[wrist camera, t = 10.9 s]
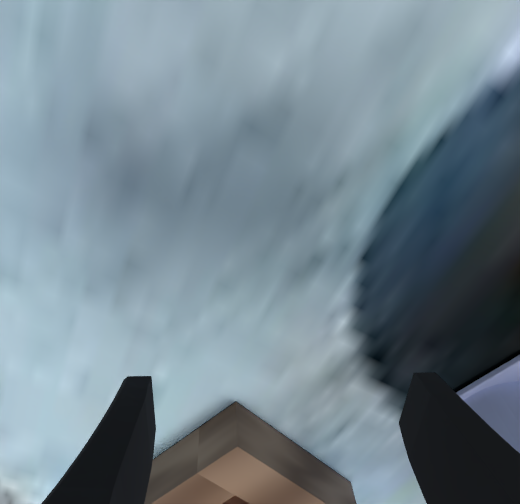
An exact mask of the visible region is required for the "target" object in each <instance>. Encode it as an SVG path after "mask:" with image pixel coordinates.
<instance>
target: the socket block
mask: <svg viewBox="0 0 520 504" xmlns="http://www.w3.org/2000/svg"><path fill="white" fill-rule="evenodd" d="M233 496H237V497H239V498H241V499H242V500H244V501H246V502H247V503H249V504H356V500H355V497H354V493H353V489H352V485H351V482H349V481H348V480H346V479H345V478H344V477H342V476H341V475H339V474H338V473H336V472H335V471H334V470H332V469H331V468H329V467H328V466H327V465H325V464H324V463H322V462H321V461H319V460H318V459H317V458H315V457H314V456H312V455H311V454H309V453H308V452H307V451H305V450H304V449H302V448H301V447H300V446H298V445H297V444H295V443H294V442H292V441H291V440H290V439H288V438H287V437H285V436H284V435H283V434H281V433H280V432H278V431H277V430H275V429H274V428H273V427H271V426H270V425H268V424H267V423H265V422H264V421H263V420H261V419H260V418H258V417H257V416H256V415H254V414H253V413H251V412H250V411H248V410H247V409H246V408H244V407H243V406H241V405H240V404H239V403H237V402H235V403H233V404H232V405H230V406H229V407H228V408H226V409H225V410H223V411H222V412H220V413H219V414H218V415H216V416H215V417H213V418H212V419H210V420H209V421H208V422H206V423H205V424H203V425H202V426H200V427H199V428H198V429H196V430H195V431H193V432H192V433H190V434H189V435H188V436H186V437H185V438H183V439H182V440H180V441H179V442H178V443H176V444H175V445H173V446H172V447H170V448H169V449H168V450H166V451H165V452H163V453H162V454H160V455H159V456H158V457H156V458H155V459H153V460H152V468H151V473H150V478H149V483H148V488H147V493H146V497H145V502H144V504H222V503H224V502H225V501H227V500H229V499H230V498H232V497H233Z"/></svg>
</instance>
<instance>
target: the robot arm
mask: <svg viewBox="0 0 520 504" xmlns="http://www.w3.org/2000/svg"><path fill="white" fill-rule="evenodd" d="M399 425H400V429H401V433H402V437H403V441H404V444H405V448H406V451H407V455H408V458H409V461H410V464H411V466H412V469H413V471H414V474H415V476H416V478H417V481H418V483H419V486H420V488H421V491H422V493H423V496H424V498H425V500H426V503H427V504H520V355H518V356H517V357H515V358H513V359H512V360H510V361H508V362H506V363H505V364H503V365H501V366H500V367H498V368H496V369H495V370H493V371H491V372H490V373H488V374H486V375H485V376H483V377H481V378H480V379H478V380H476V381H475V382H473V383H471V384H470V385H468V386H466V387H465V388H463V389H461V390H459V391H458V392H455V391H453V390H452V389H451V388H450V387H449V386H448V385H447V384H446V383H445V382H444V381H443V380H442V379H441V378H440V377H439V376H438V375H437V374H436V373H414V374H413V378H412V381H411V384H410V388H409V391H408V394H407V398H406V401H405V404H404V408H403V411H402V414H401V417H400V421H399ZM155 431H156V425H155V414H154V402H153V390H152V379H151V376H130V377H127V378H125V379H124V381H123V383H122V385H121V387H120V389H119V391H118V392H117V394H116V396H115V398H114V400H113V402H112V403H111V405H110V407H109V408H108V410H107V412H106V414H105V415H104V417H103V419H102V420H101V422H100V423H99V425H98V426H97V428H96V430H95V431H94V433H93V434H92V436H91V437H90V439H89V440H88V442H87V443H86V445H85V446H84V448H83V449H82V451H81V452H80V454H79V455H78V456H77V458H76V459H75V460H74V462H73V463H72V465H71V466H70V467H69V469H68V470H67V472H66V473H65V474H64V476H63V477H62V478H61V480H60V481H59V482H58V484H57V485H56V486H55V487H54V489H53V490H52V491H51V493H50V494H49V495H48V496H47V498H46V499H45V500H44V501H43V502H42V504H144V502H145V497H146V493H147V488H148V483H149V478H150V473H151V468H152V460H153V451H154V441H155Z"/></svg>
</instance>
